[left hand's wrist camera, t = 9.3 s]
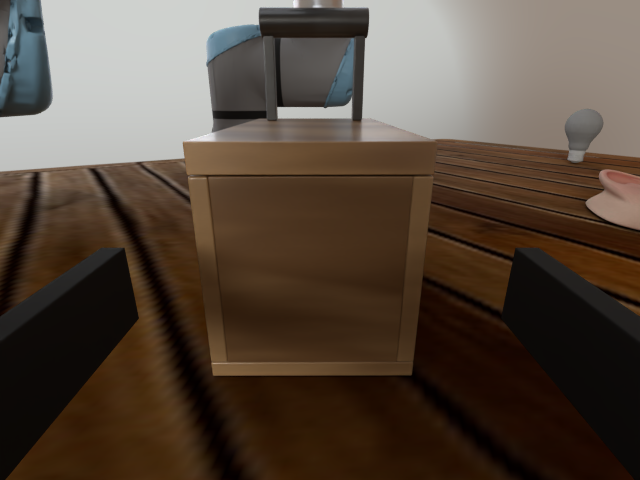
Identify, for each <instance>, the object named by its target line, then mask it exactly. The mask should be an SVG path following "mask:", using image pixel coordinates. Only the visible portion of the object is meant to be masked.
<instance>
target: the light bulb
mask: <svg viewBox="0 0 640 480" xmlns="http://www.w3.org/2000/svg"><path fill="white" fill-rule="evenodd" d="M602 127H603V119H602V117H601V115H600V114H599V113H598V112H597V111H595V110H591V109H584V110H580V111H577V112H575V113H574V114H572V115H571V116H570V117H569V118H568V120H567V121H566V124H565V132H566V135H567V137H568V141H569V149H570V150H569V156H568V159H567V160H569V161H571V162H573V163H578V162H581V161H583V155H584V154H585V151H586V150H587V149H588V147H589V145H590V143H591V141H592V140H593V139H594V138H595V137H596V136H597V135H598V134H599V133H600V131H601V129H602Z"/></svg>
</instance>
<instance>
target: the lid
mask: <svg viewBox="0 0 640 480" xmlns="http://www.w3.org/2000/svg"><path fill="white" fill-rule="evenodd" d="M259 27H260V34H261V37H262V38H263V43H264V64H265V84H266V105H267V119H256V120H253V121H250V122H246V123H243V124H240V125H237V126H233V127H230V128H227V129H223V130H220V131H217V132H213V133H210V134H207V135H204V136H200V137H197V138H194V139H190V140H187V141H184V142H183V149H184V156H185V164H186V172H187V175H433V174H434V170H435V161H436V152H437V141H434V140H431V139H428V138H425V137H423V136H420V135H417V134H414V133H411V132H408V131H405V130H402V129H399V128H397V127H394V126H391V125H388V124H385V123H382V122H379V121H376V120H373V119H362V104H363V77H364V51H365V38H367V35H368V27H369V9H368V8H260V9H259ZM274 38H354V56H353V91H352V119H278V116H277V90H276V65H275V39H274Z"/></svg>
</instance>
